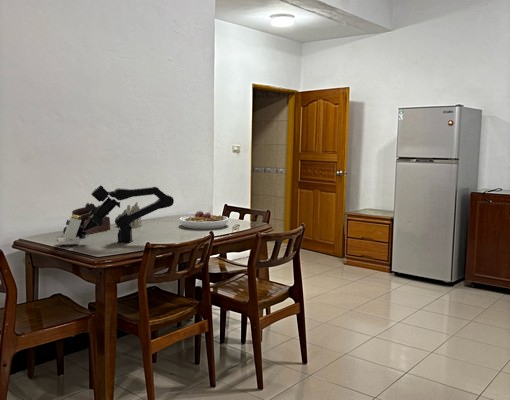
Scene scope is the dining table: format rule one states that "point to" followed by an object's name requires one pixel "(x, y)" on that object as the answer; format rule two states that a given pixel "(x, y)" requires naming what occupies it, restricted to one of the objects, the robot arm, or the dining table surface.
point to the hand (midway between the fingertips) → (83, 230)
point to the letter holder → (85, 219)
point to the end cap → (79, 232)
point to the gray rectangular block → (68, 241)
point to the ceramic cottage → (129, 210)
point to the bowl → (203, 221)
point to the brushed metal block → (72, 226)
